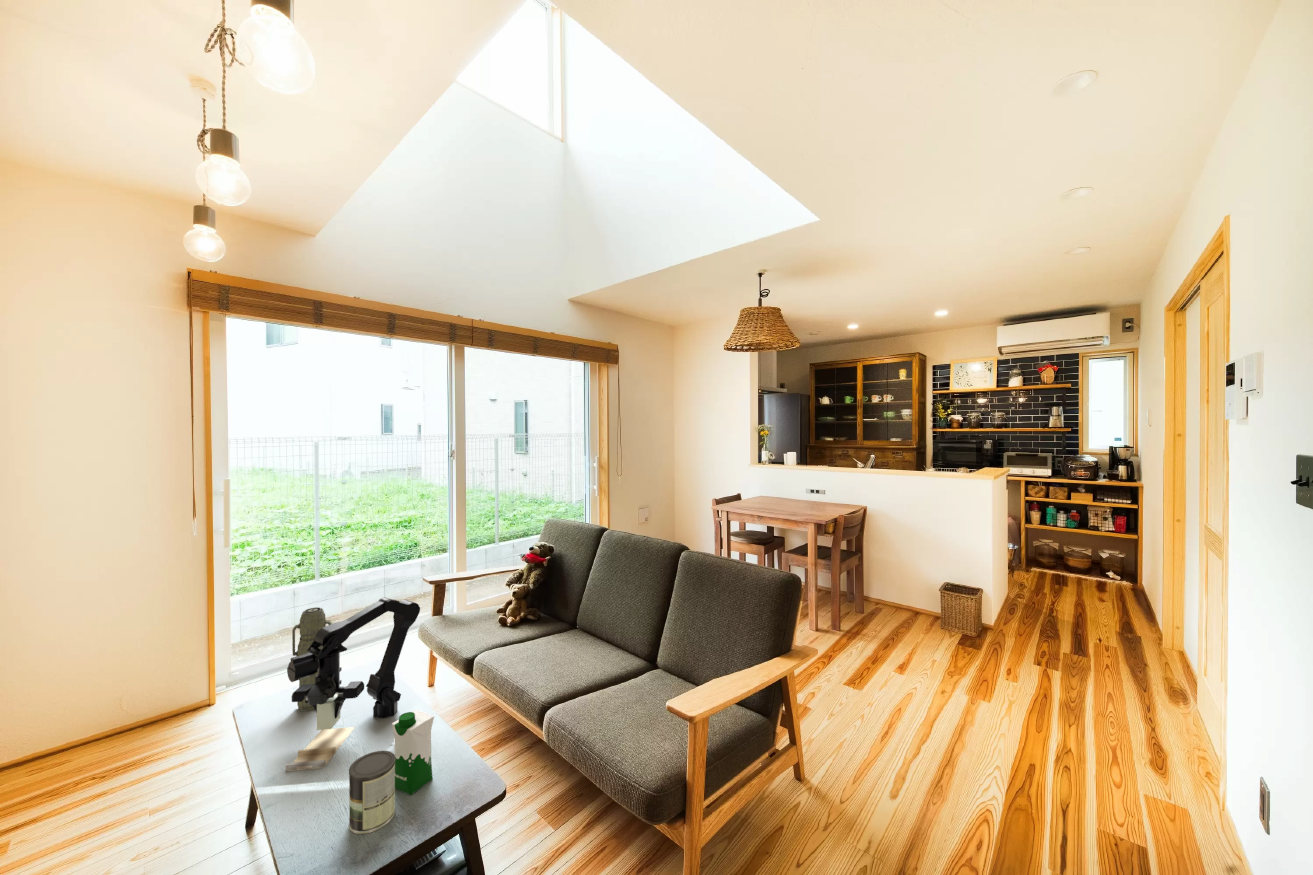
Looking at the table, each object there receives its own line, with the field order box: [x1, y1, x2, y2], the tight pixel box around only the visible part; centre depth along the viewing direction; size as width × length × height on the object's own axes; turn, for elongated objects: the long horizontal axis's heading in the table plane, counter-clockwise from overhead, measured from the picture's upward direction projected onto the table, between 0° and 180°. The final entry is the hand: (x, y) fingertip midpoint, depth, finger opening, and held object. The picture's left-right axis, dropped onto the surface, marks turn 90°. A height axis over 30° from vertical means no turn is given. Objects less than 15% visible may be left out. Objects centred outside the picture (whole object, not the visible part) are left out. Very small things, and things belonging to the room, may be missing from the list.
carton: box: [316, 694, 341, 731], centre depth 156 cm, size 4×6×8 cm
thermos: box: [291, 607, 334, 712], centre depth 177 cm, size 9×12×35 cm
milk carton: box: [391, 709, 435, 796], centre depth 139 cm, size 9×9×20 cm
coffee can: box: [348, 750, 396, 835], centre depth 127 cm, size 10×10×14 cm
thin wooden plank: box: [285, 726, 356, 772], centre depth 153 cm, size 10×20×3 cm, turn 8°
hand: (328, 718), depth 156 cm, fingers closed on carton, 4 cm apart
